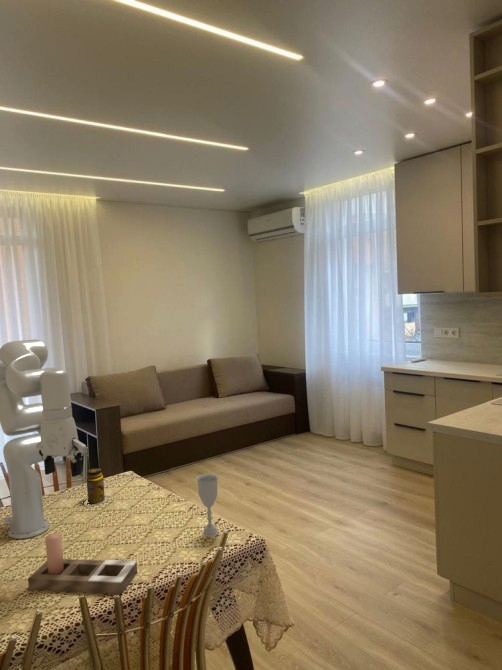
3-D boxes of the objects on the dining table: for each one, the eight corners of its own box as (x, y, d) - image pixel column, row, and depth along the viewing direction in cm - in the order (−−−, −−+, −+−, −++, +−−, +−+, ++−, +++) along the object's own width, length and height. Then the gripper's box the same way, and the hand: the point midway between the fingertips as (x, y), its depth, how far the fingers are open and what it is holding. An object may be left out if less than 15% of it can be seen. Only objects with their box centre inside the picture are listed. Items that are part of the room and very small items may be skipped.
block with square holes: (28, 589, 130) (27, 577, 130) (50, 568, 140) (49, 557, 140) (122, 594, 126) (121, 581, 125) (137, 572, 136) (136, 560, 135)
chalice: (194, 533, 156) (191, 478, 155) (210, 525, 161) (207, 472, 160) (210, 540, 151) (206, 483, 150) (226, 532, 156) (223, 476, 155)
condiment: (109, 500, 187) (106, 469, 186) (88, 507, 181) (85, 475, 180) (100, 495, 192) (97, 465, 191) (79, 502, 186) (76, 471, 186)
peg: (45, 583, 132) (42, 540, 132) (54, 575, 136) (50, 533, 136) (59, 584, 132) (56, 540, 131) (67, 575, 136) (64, 533, 135)
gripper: (24, 416, 138) (29, 476, 139) (71, 417, 131) (77, 480, 132) (44, 410, 145) (50, 468, 146) (91, 411, 138) (96, 471, 139)
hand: (63, 474), depth 139 cm, fingers open, 9 cm apart
